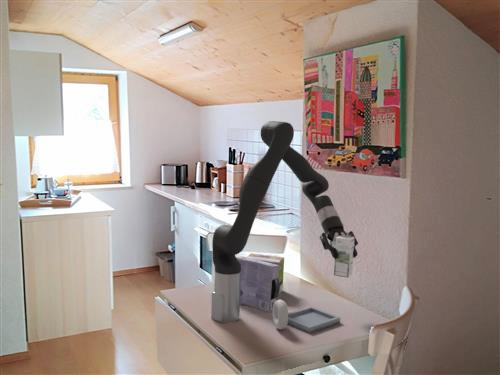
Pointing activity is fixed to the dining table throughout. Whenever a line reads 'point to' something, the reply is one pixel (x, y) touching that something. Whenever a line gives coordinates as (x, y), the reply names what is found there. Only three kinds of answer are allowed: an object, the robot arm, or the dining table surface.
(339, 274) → the syrup box
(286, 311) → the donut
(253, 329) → the dining table surface
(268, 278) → the cake pan box
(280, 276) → the tea box
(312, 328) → the tray
